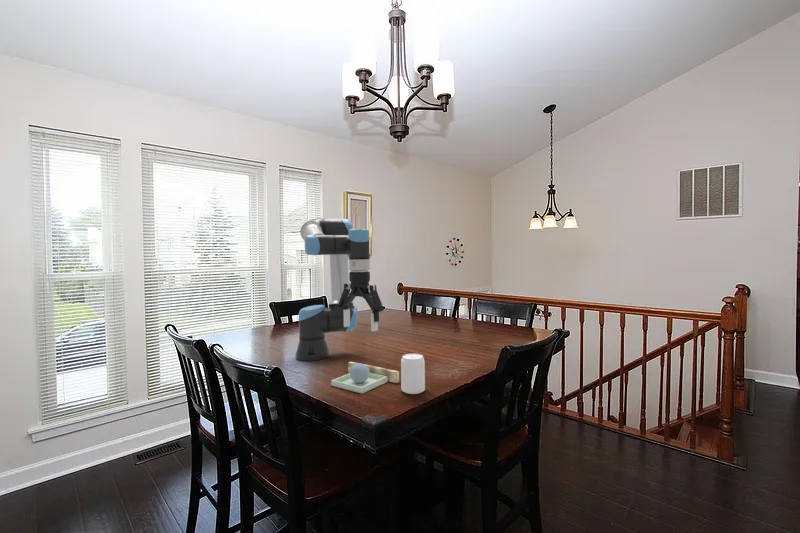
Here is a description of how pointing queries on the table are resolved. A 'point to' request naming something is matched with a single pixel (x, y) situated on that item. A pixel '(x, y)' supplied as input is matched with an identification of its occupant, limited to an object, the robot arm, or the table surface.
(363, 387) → the tray
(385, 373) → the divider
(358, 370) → the ball
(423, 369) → the beverage can
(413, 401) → the table surface
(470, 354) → the table surface
